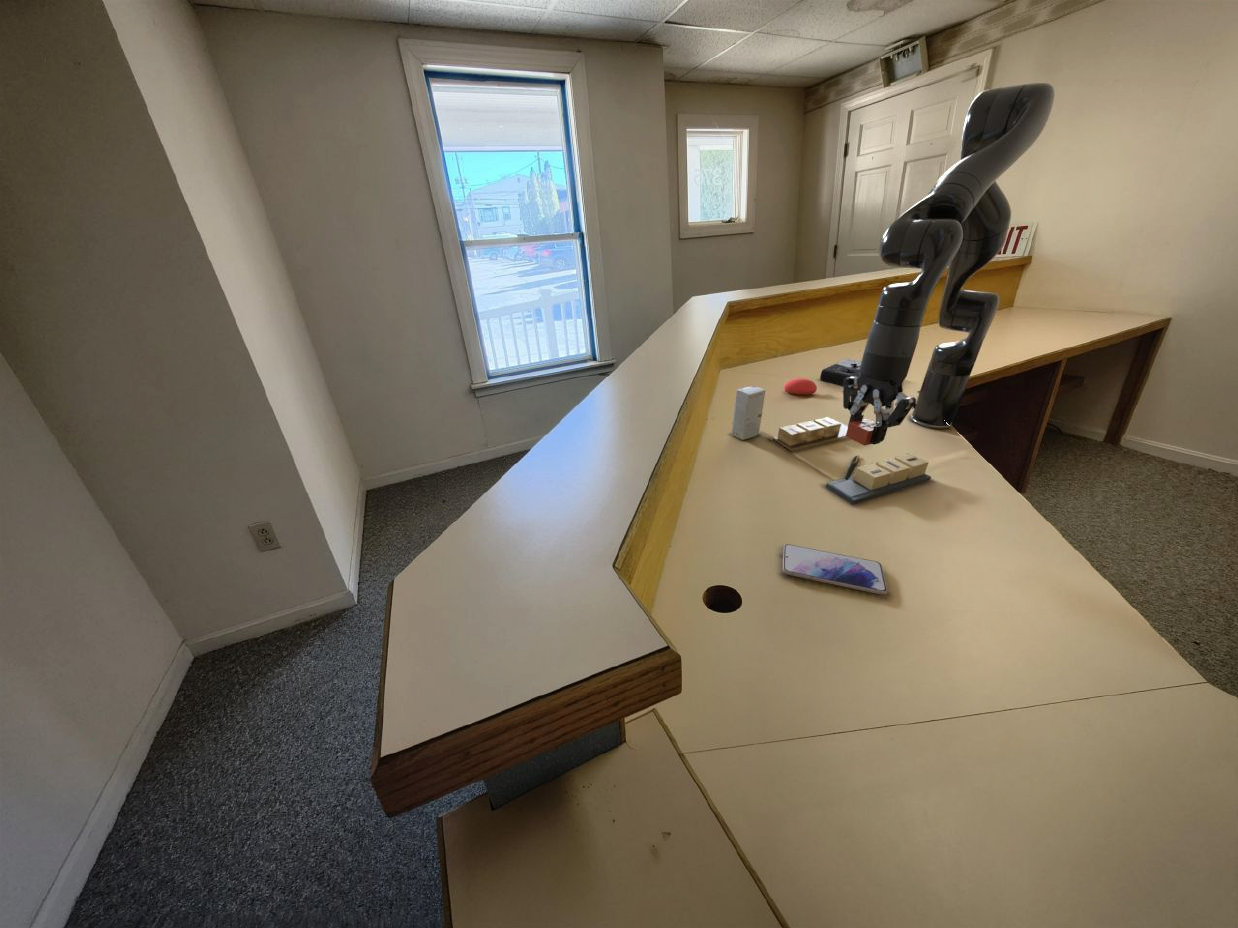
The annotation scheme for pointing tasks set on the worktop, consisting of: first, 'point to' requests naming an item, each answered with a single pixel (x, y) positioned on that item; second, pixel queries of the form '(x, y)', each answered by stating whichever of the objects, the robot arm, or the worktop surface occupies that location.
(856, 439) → the red plus-sign block
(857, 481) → the wooden block rack
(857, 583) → the smartphone
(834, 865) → the worktop surface
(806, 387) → the stress ball
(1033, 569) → the worktop surface
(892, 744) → the worktop surface
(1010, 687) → the worktop surface
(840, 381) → the multimeter
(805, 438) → the letter tile tray
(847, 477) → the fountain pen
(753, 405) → the cosmetic box
